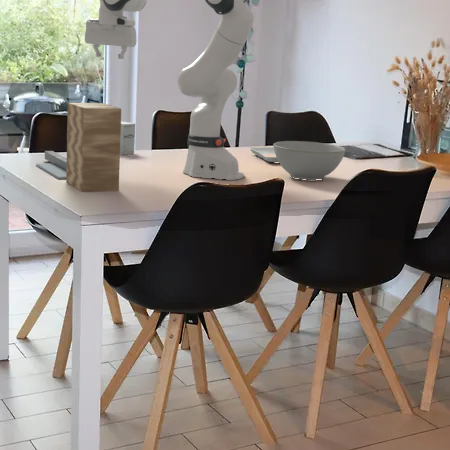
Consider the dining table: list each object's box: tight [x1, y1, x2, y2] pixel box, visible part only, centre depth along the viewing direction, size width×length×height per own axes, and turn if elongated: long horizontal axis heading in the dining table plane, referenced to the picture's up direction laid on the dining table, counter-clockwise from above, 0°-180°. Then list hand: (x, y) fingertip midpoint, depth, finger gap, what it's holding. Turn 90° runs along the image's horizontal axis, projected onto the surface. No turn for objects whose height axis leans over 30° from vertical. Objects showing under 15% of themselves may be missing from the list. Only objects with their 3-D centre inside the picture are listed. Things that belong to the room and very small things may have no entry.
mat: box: [35, 162, 67, 180], centre depth 278 cm, size 26×14×1 cm, turn 29°
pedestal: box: [65, 102, 122, 193], centre depth 253 cm, size 16×12×26 cm
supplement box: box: [120, 121, 136, 156], centre depth 325 cm, size 7×7×13 cm
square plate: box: [248, 146, 279, 163], centre depth 337 cm, size 27×27×4 cm
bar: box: [44, 150, 67, 171], centre depth 284 cm, size 30×3×3 cm, turn 29°
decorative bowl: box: [272, 140, 346, 180], centre depth 295 cm, size 27×27×12 cm
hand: (109, 57), depth 296 cm, fingers open, 8 cm apart
